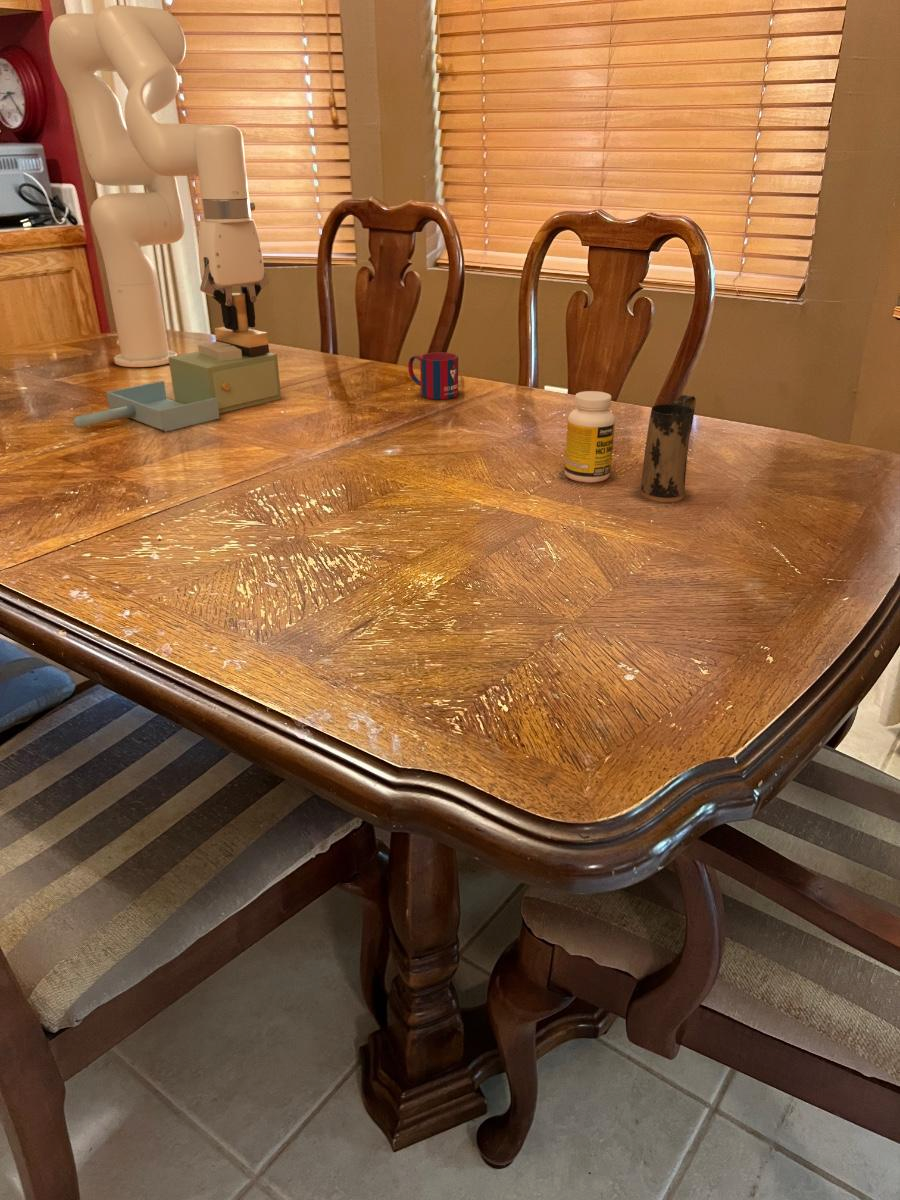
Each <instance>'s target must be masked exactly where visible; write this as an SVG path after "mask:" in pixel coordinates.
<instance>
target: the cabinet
mask: <svg viewBox="0 0 900 1200" xmlns="http://www.w3.org/2000/svg"><path fill="white" fill-rule="evenodd" d="M168 358H169V363H168V364H169V371H170V377H171V383H172V389H173V390H172V391H173V396H174V401H176V402H179V403H182V404H189V403H194V402H198V401H203V400H207V399H212V398H217V403H218V410H219V415H221V414H225V413H228V412H232V411H235V410H241V409H244V408H248V407H249V408H250V407H253V406H257V405H261V404H265V403H270V402H274V401H279V400H282V391H281V390H282V389H281V383H280V381H281V380H280V372H279V370H280V369H279V360H278V354H277V353H273V352H269V353H268V354H263V355H257V356H252V357H249V356H245V355H242V359H235V360H227V361H218V360H216V359H214V358H213V357H211V356H207V355H203V354H199V351H195V352H190V353H184V354H183V353H182V354H177V356H172V357H168Z"/></svg>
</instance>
